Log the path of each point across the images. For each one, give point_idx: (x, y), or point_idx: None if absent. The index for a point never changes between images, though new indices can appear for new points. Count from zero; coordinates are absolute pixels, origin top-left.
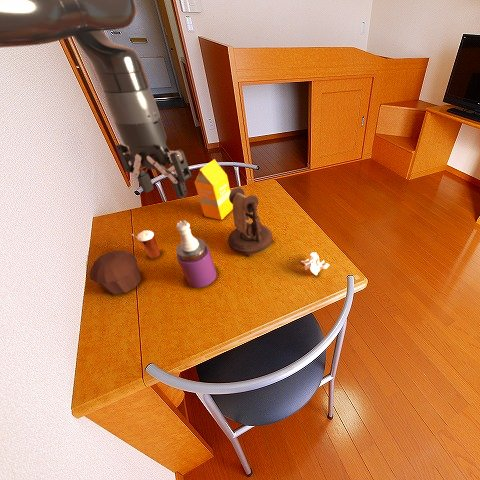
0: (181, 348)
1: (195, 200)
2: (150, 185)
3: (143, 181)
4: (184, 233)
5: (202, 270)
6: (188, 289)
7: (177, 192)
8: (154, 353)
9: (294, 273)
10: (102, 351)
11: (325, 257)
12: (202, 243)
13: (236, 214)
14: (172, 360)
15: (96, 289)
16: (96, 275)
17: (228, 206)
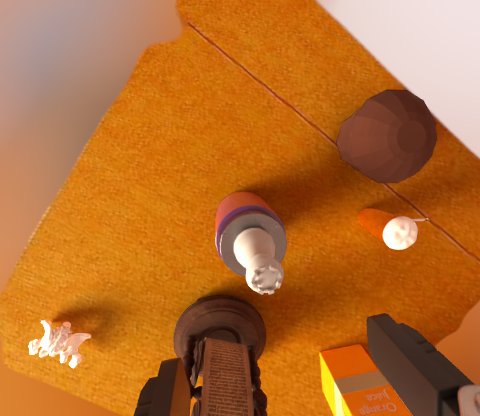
0: (155, 80)
1: None
2: (383, 362)
3: (412, 370)
4: (253, 259)
5: (218, 218)
6: (242, 183)
7: (161, 391)
8: (189, 51)
9: (90, 305)
10: (273, 13)
11: (63, 365)
12: (237, 267)
13: (237, 381)
14: (150, 55)
15: None
16: (397, 96)
17: (327, 389)
